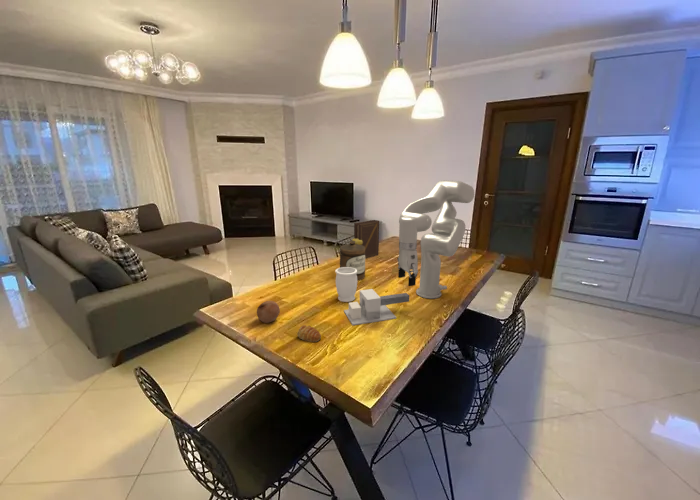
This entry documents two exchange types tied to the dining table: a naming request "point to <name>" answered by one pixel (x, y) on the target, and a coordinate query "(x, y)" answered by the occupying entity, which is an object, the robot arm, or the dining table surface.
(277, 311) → the onion
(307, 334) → the pastry
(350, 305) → the block
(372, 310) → the bearing block
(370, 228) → the book
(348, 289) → the jar
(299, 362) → the dining table surface
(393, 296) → the shaft
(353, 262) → the wooden container
